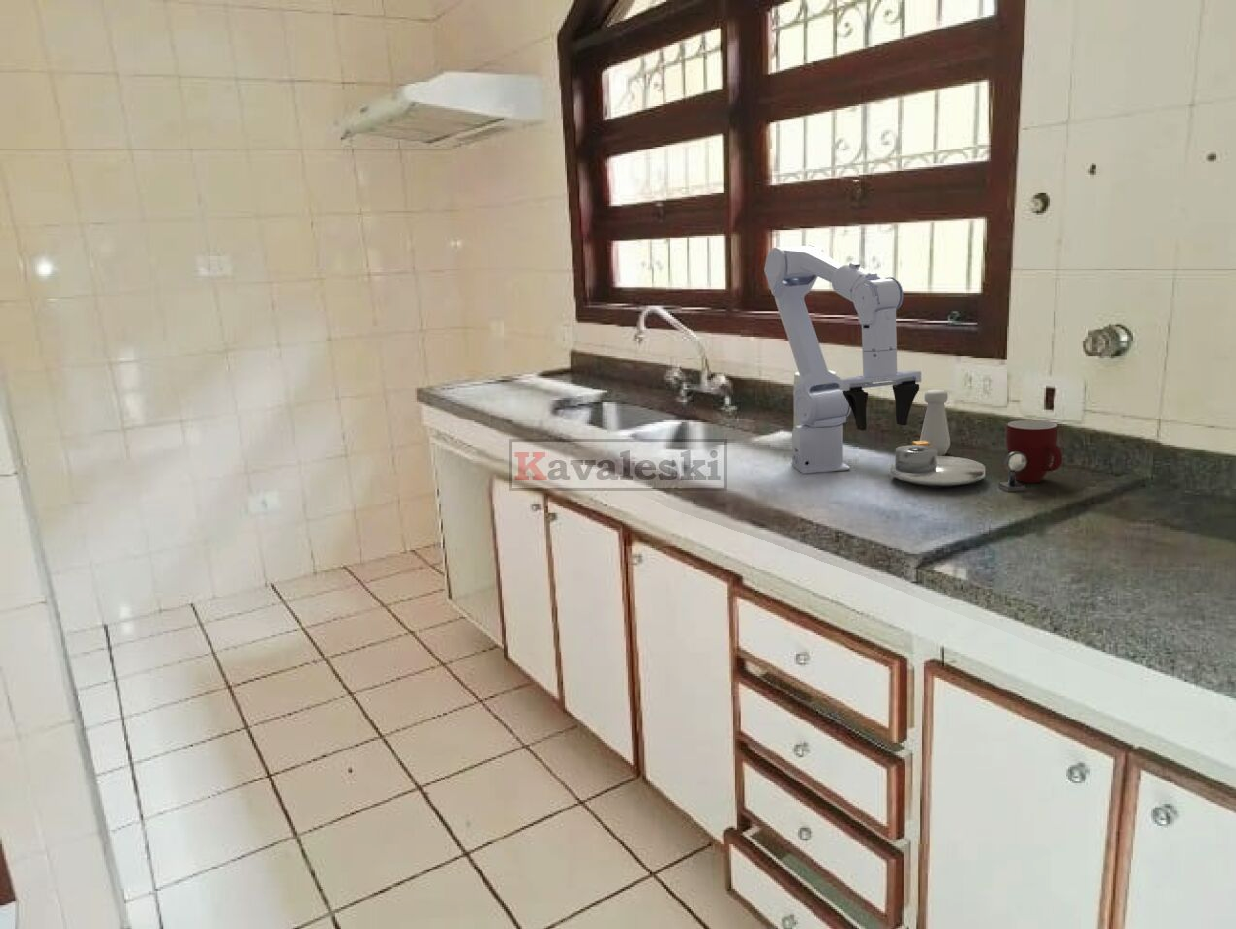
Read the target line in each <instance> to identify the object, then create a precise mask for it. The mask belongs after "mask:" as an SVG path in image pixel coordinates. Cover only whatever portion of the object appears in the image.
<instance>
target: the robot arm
mask: <svg viewBox="0 0 1236 929" xmlns="http://www.w3.org/2000/svg"><path fill="white" fill-rule="evenodd" d="M763 270H764V274H765V276H766V280H767V283H768V286H769V289H770V291H771V295H772V296H773V297H774V299H775V304H776V306H777V309H778V312H779V313H778V314H779V317H780V318H781V321H782V325H783V327H784V328H783V329H784V332H785V333H786V337H787V340H788V344H789V346H790V349H791V353H792V355H793V359H794V361H795V365H796V368H797V372H799V374H800V377H801V380H800V382H799V383H798V384H797V386H796V387H795V389H794V388H793V391H792V395H793V400H794V399H795V412H796V415H797V417H798V418H799V420H800V421H801V424H803V425H800V426H795V427H794V426H793V428H792V430H791V454H792V455H791V460H792V461H791V463H790V464H791V466H793V467H794V468H795V469H797V470H798V472H800V473H801V474H804V475H806V474H814V473H815V474H818V473H827V472H839V471H849V470H851V467H850V466H849V465H847V464H846V463H845V462H843V461H844V458H843V457H844V456H843V454H844V453H843V452H844V451H843V449H844V447H843V444H844V443H843V442H844V440H843V438H844V436H843V435H844V434H843V423H846V422H847V417H849V415H850V414H851V412H852V414H853V418H854V421H855V425H856V430H860V431H867V423H868V422H867V404H868V400H869V392H868V391H867V392H866V391H865V390H864V389H868V388H874V387H875V388H876V387H877V388H878V387H884V386H886V387H887V386H892V390H893V395H894V402H895V419H896V424H897V425H899V426H907V423H908V422H907V421H908V419H909V418H908V417H909V414H910V411H911V407H912V404H913V402H914V400H915V398H916V396H917V394H918V392H919V391H920V384H919V383H922V371H921V370H907V371H898V349H897V348H898V340H897V338H898V336H897V310H898V309H899V308H901V306H902V304H903V301H904V289H903V286H902V284H901V283H900V281H898V280H897V279H896V278H895V277H892V276H889V277H885V278H880V277H879V276H878V273H876V272H875V271H871V272H870V271H867V270H866V269H865V268H862V267H861V263H859V262H857V261H853V262H848V263H844V264H841V263H839V262H837V261H836V260H835V259H833V258H831V257H830V256H829V255H827V254H825V253H824V250H823V248H822V247H819V246H817V245H814V244H810V245H806V246H805V245H801V246H793V247H792V246H790V247H773V248H771V249H770V250H769V252H768V253H767V255H766V258H765V264H764V269H763ZM818 278H820V279H822V280H825V281H827V282H829V283H831V286H832V290H833V291H834V292H835V293H836V294H838V295H840V296H841V297H843V298H845V299H846V300H848V301H850V302H852V303H853V306H854V310H855V311H856V312H857V316H858V317H857V318H858V322H859V325H861V343H862V344H861V345H862V346H861V348H862V350H861V352H862V375H857V376H852V377H845V378H842V377H839V376H838V375H837V374H836V375H835V374H833V373H831V372H829V371H830V370H829V371H828V367H827V363H826V360H825V358H824V355H823V352H822V349H821V346H820V343H819V340H818V337H817V335H816V331H815V328H814V325H813V322H812V319H811V317H810V314H809V310H808V307H807V305H806V302H805V297H806V295H807V294H808V293H810V292H811V291H812V288H813V287H814V285H815V283H816V281H817V279H818Z"/></svg>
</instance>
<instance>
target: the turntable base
mask: <svg viewBox="0 0 1236 929" xmlns="http://www.w3.org/2000/svg"><path fill="white" fill-rule="evenodd" d="M912 484H913V485H916V486H921V487H925V488H937V489H938V488H941V489H944V488H955V487H959V486H963V485H964V484H959V485H926V484H917V483H912Z"/></svg>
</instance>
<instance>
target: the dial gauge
mask: <svg viewBox="0 0 1236 929" xmlns="http://www.w3.org/2000/svg"><path fill="white" fill-rule="evenodd" d="M1003 464H1004V467H1005V469H1006V470H1008V481H1005V482H998V488H999V489H1001V490H1003V491H1004V492H1007V493H1010V492H1019V491H1020V492H1021V491H1025V490H1026V486H1025V485H1024V484H1022V483H1020V482H1018V481H1016V477H1015V473H1018V472H1021V471H1022V470H1023V469H1024V468H1025V467H1026V465H1027V457H1026V456H1025V454H1023V453H1021V452H1019V451H1013V452H1010V453H1009V454H1008V453H1007V455H1006V456H1005V458H1004V461H1003Z"/></svg>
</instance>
